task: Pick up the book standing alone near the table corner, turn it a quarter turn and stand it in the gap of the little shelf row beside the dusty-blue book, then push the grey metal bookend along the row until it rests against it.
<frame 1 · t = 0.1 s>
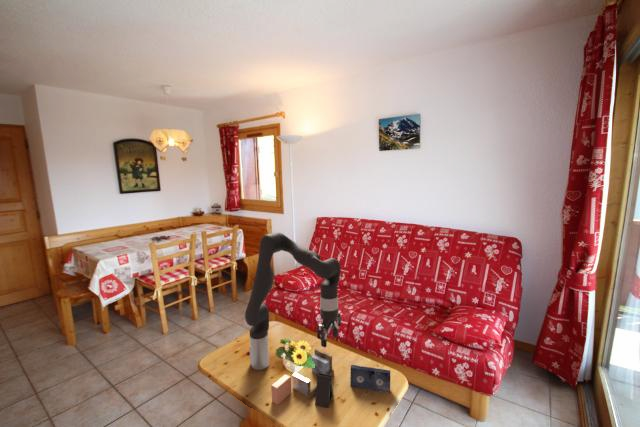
hand: (329, 341, 129), 29 cm above the table, fingers open, 8 cm apart
bookend: (301, 384, 140), point 4 cm above the table, slide at 0.0 cm
door stopper: (324, 399, 136), on the table
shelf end: (320, 373, 153), on the table
book: (281, 397, 138), on the table
vhs cassette tape: (370, 388, 142), on the table
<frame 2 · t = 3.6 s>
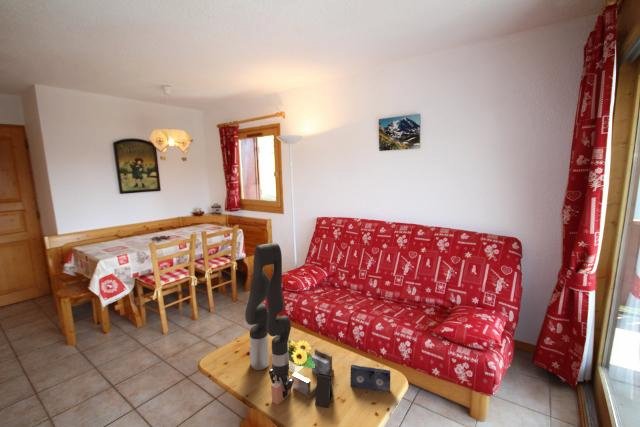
hand: (281, 394, 137), 1 cm above the table, fingers closed on book, 3 cm apart
book: (281, 397, 138), on the table, touching gripper
everything else where it was.
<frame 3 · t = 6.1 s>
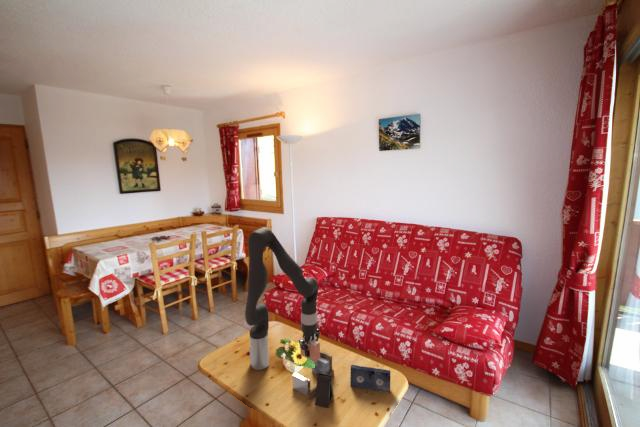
hand: (310, 353, 144), 15 cm above the table, fingers closed on book, 3 cm apart
book: (310, 356, 144), point 14 cm above the table, touching gripper
everything else where it was.
when the fingers open (3 cm above the table, at t = 8.6 s): book stays where it is, resting on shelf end.
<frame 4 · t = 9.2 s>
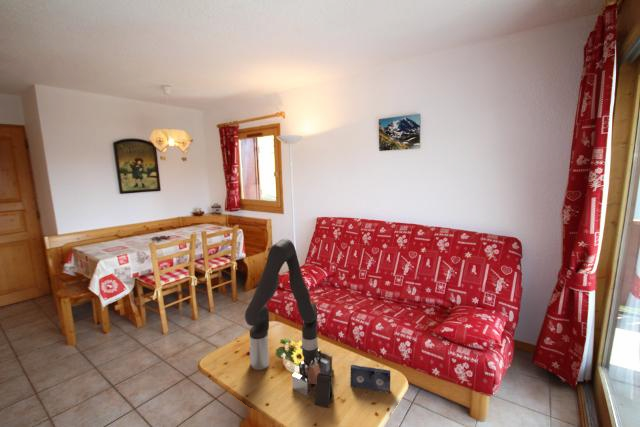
hand: (310, 376, 146), 3 cm above the table, fingers open, 7 cm apart
bookend: (301, 384, 140), point 3 cm above the table, slide at -0.2 cm, touching gripper
book: (313, 381, 145), point 1 cm above the table, tilted 18°, touching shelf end
everything else where it was.
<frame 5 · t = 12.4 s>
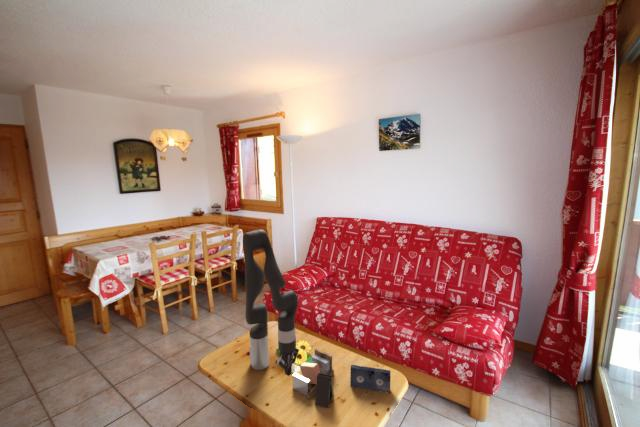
hand: (288, 374, 132), 14 cm above the table, fingers closed
bookend: (301, 384, 140), point 3 cm above the table, slide at 0.0 cm
everything else where it was.
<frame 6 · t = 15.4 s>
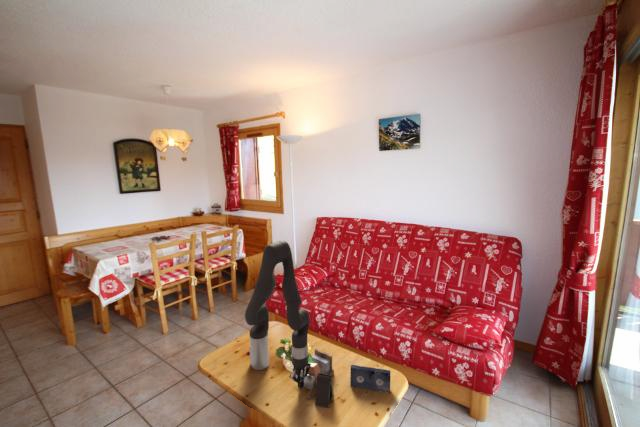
hand: (300, 387, 140), 2 cm above the table, fingers closed
bookend: (306, 379, 144), point 4 cm above the table, slide at 4.0 cm, touching book, hand
book: (313, 381, 145), point 1 cm above the table, tilted 18°, touching bookend, hand, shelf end
everything else where it was.
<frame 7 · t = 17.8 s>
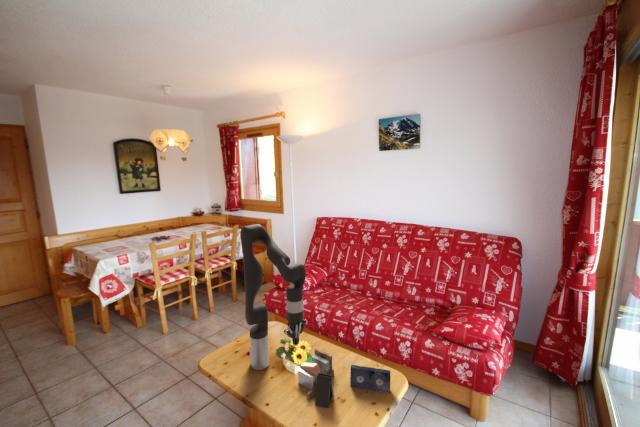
hand: (295, 344, 137), 24 cm above the table, fingers closed
bookend: (307, 379, 144), point 4 cm above the table, slide at 4.1 cm
book: (313, 381, 145), point 1 cm above the table, tilted 18°, touching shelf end
everything else where it was.
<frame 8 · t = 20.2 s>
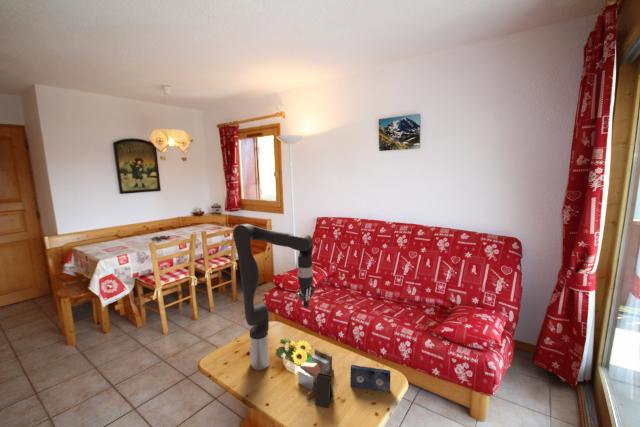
hand: (306, 306, 155), 32 cm above the table, fingers closed
nothing on the table moved.
at the end: book inside the target area (1.7 cm from its centre), point 1.4 cm above the table; book tilted 18°; bookend slide at 4.1 cm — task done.
